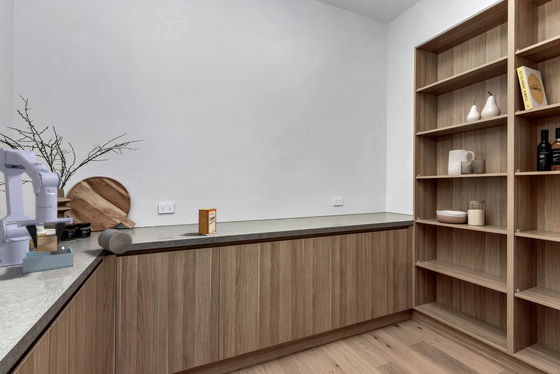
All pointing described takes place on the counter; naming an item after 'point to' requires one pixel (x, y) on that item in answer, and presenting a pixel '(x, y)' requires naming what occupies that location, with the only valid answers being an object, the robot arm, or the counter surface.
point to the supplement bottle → (39, 233)
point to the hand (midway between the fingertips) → (46, 246)
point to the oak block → (46, 243)
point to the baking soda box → (207, 220)
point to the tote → (46, 261)
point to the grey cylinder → (60, 250)
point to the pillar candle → (115, 241)
